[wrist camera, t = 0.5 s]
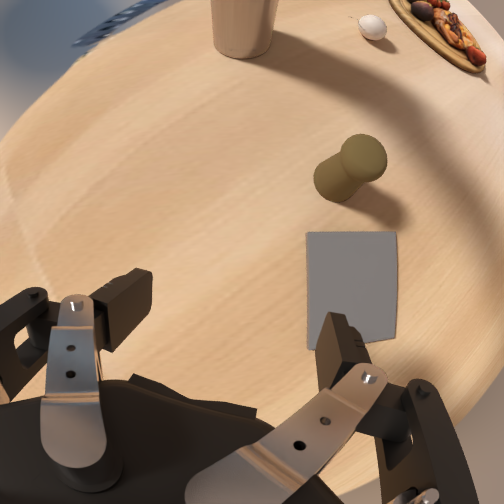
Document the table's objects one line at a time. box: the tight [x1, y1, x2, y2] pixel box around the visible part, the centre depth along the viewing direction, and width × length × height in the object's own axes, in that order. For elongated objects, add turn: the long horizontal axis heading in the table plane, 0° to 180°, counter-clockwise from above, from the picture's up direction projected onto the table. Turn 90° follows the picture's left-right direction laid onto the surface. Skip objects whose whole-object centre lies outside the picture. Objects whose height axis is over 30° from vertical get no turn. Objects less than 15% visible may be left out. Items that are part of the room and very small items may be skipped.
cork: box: [314, 134, 387, 202], centre depth 30 cm, size 6×6×11 cm
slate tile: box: [306, 232, 397, 350], centre depth 34 cm, size 15×13×1 cm
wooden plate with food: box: [389, 0, 486, 73], centre depth 34 cm, size 32×32×8 cm
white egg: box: [348, 15, 387, 40], centre depth 33 cm, size 8×6×6 cm
